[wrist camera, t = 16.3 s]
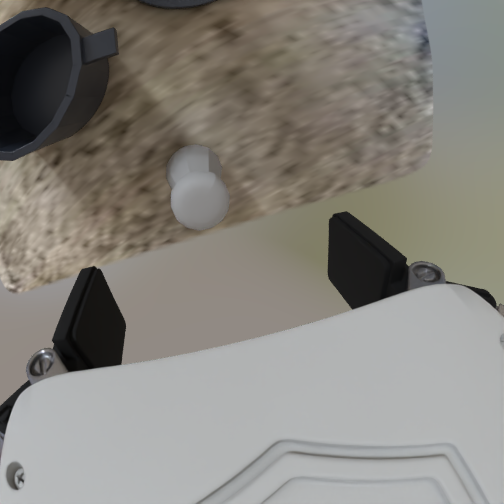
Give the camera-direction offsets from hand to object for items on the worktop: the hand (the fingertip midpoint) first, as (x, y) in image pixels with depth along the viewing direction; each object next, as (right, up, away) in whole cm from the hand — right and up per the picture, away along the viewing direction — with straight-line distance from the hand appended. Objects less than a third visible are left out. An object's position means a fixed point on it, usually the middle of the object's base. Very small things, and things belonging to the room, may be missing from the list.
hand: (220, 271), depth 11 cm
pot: (-20, +19, +10) cm, 30 cm away
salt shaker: (-5, +10, +19) cm, 23 cm away
